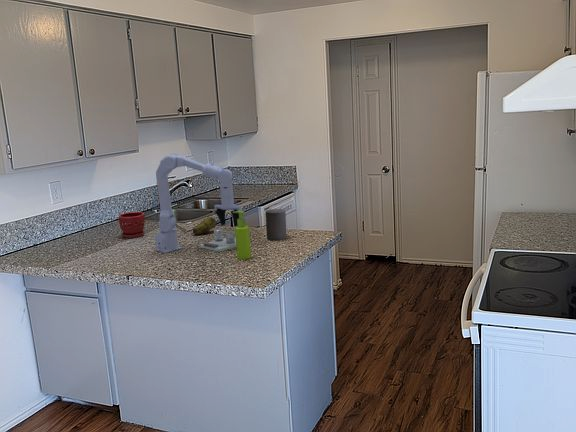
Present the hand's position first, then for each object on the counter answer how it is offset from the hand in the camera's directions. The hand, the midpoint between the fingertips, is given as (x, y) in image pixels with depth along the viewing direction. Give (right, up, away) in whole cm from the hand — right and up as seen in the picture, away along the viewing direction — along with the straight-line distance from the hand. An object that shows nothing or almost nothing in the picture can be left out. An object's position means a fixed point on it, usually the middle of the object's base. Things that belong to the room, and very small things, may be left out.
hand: (229, 225), depth 255 cm
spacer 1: (-6, -7, +7) cm, 12 cm away
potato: (-16, -5, +34) cm, 38 cm away
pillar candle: (+22, -7, +12) cm, 26 cm away
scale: (-4, -10, +4) cm, 11 cm away
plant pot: (-54, -7, +37) cm, 66 cm away
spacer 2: (0, -8, +1) cm, 8 cm away
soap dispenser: (+8, -13, -19) cm, 24 cm away
